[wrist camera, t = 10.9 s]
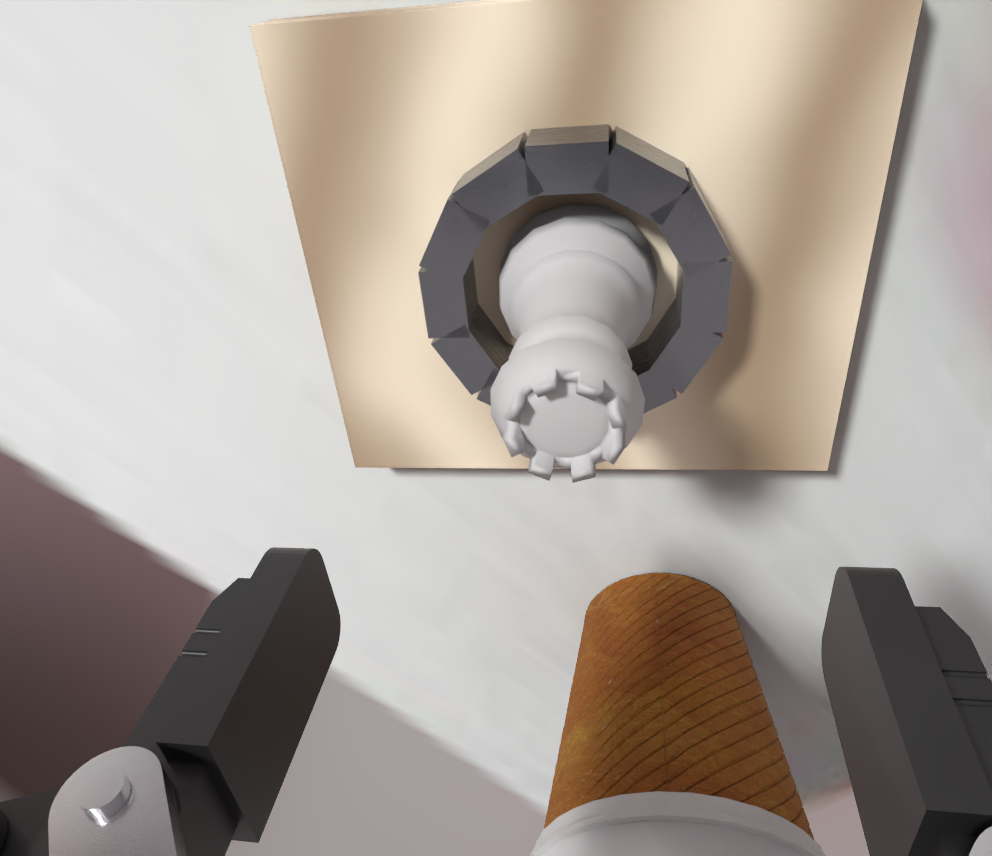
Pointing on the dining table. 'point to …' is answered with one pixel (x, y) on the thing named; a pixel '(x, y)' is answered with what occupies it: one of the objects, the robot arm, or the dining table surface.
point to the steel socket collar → (576, 170)
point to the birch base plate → (594, 196)
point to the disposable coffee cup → (669, 735)
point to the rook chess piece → (573, 338)
